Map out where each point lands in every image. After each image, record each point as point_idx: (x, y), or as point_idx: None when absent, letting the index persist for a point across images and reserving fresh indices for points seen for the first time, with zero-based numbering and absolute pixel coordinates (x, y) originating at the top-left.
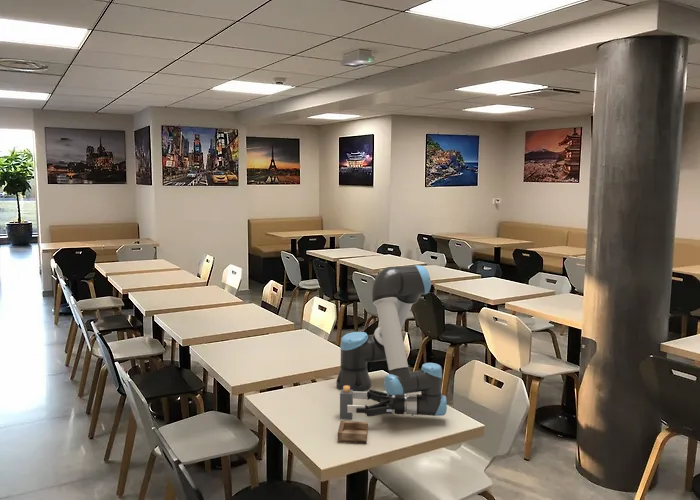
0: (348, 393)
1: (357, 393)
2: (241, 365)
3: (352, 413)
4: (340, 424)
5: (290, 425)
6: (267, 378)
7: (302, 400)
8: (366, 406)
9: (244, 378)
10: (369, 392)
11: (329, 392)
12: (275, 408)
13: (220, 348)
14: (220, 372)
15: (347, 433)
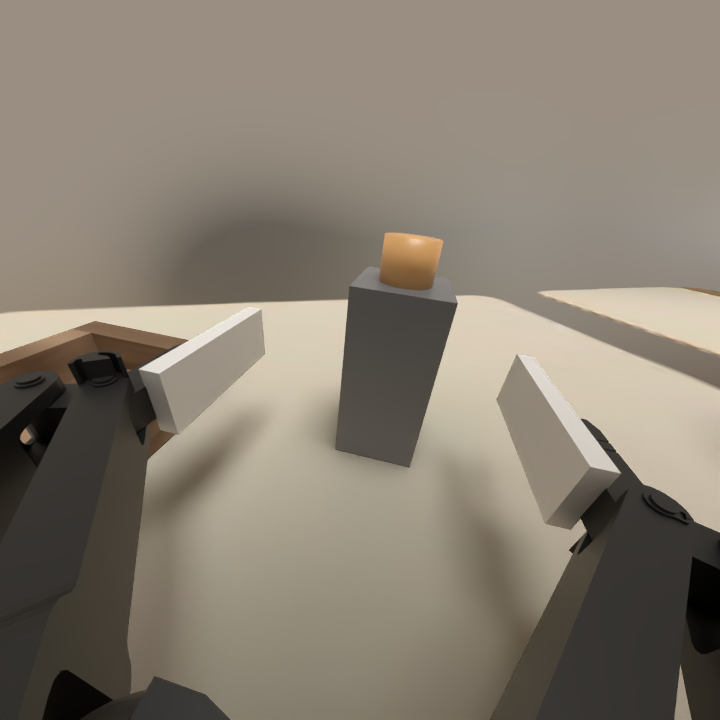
0: (366, 280)
1: (534, 399)
2: (656, 306)
3: (401, 456)
4: (173, 339)
5: (324, 311)
6: (622, 320)
7: (513, 345)
8: (83, 358)
9: (585, 301)
10: (638, 511)
11: (668, 416)
12: None
13: (712, 300)
14: (586, 290)
15: (37, 341)
